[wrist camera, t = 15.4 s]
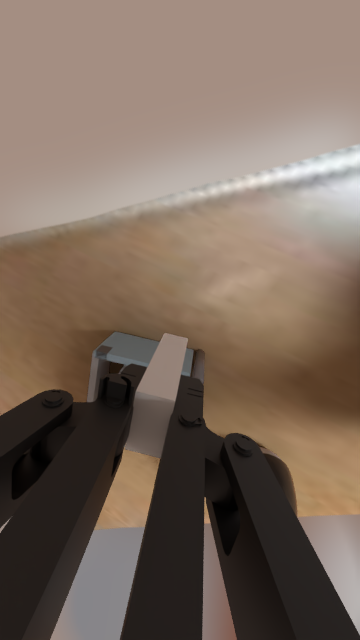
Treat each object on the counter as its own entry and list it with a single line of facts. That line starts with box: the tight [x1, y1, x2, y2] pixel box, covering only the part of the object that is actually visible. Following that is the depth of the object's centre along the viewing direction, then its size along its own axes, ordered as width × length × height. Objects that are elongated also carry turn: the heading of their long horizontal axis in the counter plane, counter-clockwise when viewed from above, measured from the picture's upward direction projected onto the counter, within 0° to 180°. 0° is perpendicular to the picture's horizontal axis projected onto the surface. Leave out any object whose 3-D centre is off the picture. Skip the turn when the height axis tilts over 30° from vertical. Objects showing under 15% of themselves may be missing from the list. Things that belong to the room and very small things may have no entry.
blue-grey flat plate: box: [94, 331, 194, 377], centre depth 38 cm, size 13×1×8 cm, turn 78°
